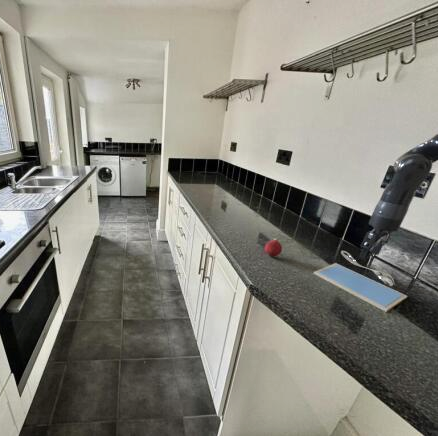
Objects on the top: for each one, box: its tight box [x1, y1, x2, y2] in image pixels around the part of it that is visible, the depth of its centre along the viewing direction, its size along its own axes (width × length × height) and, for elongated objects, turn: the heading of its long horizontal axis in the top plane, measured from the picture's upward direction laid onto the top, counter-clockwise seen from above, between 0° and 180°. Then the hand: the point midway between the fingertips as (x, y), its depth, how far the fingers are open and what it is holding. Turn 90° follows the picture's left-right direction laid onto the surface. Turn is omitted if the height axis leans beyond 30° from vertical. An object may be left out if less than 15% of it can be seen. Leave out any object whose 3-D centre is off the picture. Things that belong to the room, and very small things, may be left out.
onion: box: [264, 238, 283, 258], centre depth 90 cm, size 6×6×8 cm
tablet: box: [313, 262, 408, 313], centre depth 76 cm, size 14×20×1 cm
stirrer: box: [340, 250, 395, 287], centre depth 85 cm, size 20×4×5 cm
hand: (368, 256), depth 84 cm, fingers open, 8 cm apart
